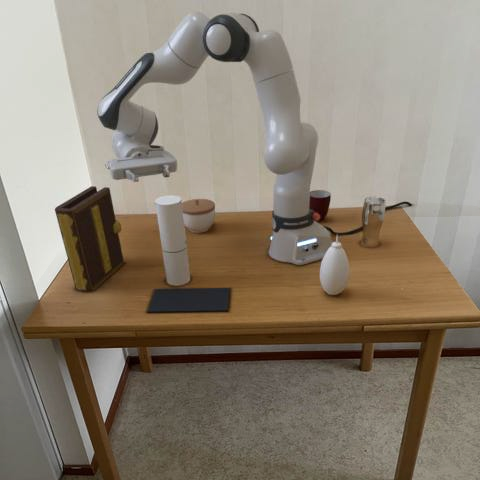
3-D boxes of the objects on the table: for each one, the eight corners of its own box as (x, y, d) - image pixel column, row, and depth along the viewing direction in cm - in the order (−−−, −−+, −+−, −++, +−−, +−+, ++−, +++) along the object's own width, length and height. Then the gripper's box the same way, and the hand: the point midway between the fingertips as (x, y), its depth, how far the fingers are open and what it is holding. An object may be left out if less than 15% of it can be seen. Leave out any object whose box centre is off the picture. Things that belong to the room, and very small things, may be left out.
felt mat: (230, 289, 142) (230, 287, 142) (227, 311, 132) (227, 310, 132) (155, 290, 143) (154, 288, 143) (147, 312, 133) (147, 311, 133)
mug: (300, 224, 178) (301, 198, 173) (300, 216, 185) (300, 190, 179) (330, 224, 177) (331, 197, 172) (328, 215, 184) (329, 189, 178)
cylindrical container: (192, 274, 150) (183, 195, 136) (187, 285, 145) (178, 204, 131) (169, 273, 151) (158, 195, 137) (164, 285, 145) (152, 204, 131)
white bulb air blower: (314, 289, 140) (317, 230, 130) (339, 284, 142) (344, 226, 132) (325, 302, 134) (329, 242, 124) (351, 297, 135) (358, 237, 125)
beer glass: (357, 246, 161) (361, 203, 153) (361, 238, 167) (365, 195, 158) (378, 249, 159) (384, 205, 151) (382, 240, 164) (387, 197, 156)
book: (94, 293, 143) (75, 212, 129) (70, 289, 146) (48, 209, 132) (131, 259, 160) (117, 184, 146) (108, 256, 163) (93, 183, 149)
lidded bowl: (203, 238, 172) (200, 208, 165) (175, 231, 177) (171, 202, 171) (223, 225, 180) (221, 196, 174) (195, 219, 186) (193, 191, 180)
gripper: (102, 152, 145) (115, 171, 136) (167, 145, 153) (184, 162, 144) (104, 172, 149) (117, 192, 140) (167, 164, 157) (184, 182, 148)
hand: (151, 177), depth 142 cm, fingers open, 8 cm apart
